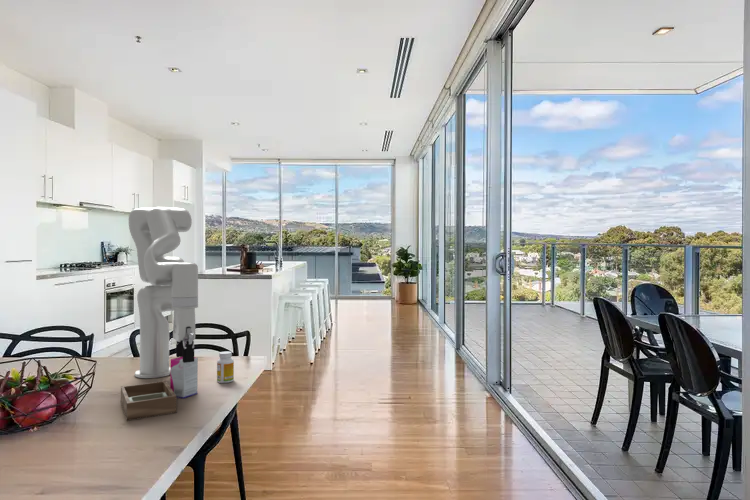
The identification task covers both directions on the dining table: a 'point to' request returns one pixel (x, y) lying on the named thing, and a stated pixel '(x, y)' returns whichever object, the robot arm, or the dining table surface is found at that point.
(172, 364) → the supplement box
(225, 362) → the supplement bottle
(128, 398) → the walnut box
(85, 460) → the dining table surface
